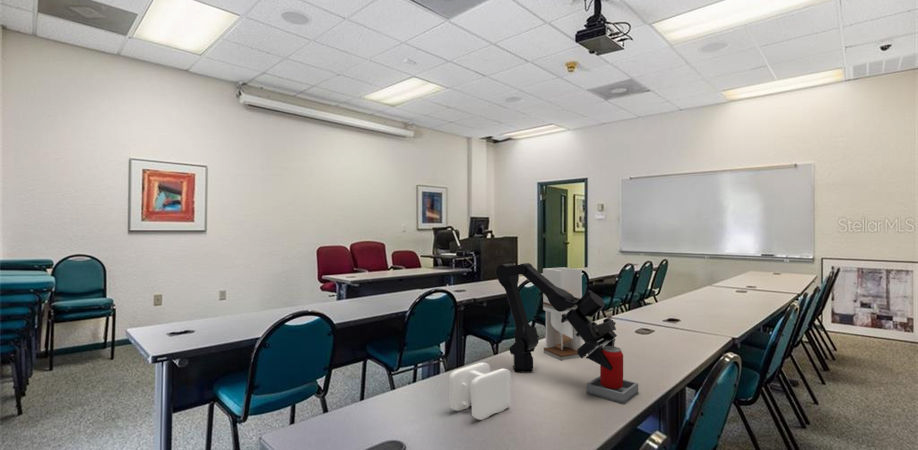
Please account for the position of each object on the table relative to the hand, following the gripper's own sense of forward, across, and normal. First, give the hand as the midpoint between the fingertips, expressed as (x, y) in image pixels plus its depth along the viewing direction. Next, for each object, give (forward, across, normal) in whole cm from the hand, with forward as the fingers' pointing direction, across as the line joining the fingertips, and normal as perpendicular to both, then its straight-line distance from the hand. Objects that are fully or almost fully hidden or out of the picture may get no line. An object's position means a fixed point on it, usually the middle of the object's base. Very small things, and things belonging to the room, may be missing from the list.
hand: (616, 366), depth 129 cm
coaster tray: (+5, 0, +7) cm, 9 cm away
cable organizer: (-11, -37, +24) cm, 45 cm away
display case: (-16, +26, +29) cm, 42 cm away
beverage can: (+4, 0, +6) cm, 7 cm away
